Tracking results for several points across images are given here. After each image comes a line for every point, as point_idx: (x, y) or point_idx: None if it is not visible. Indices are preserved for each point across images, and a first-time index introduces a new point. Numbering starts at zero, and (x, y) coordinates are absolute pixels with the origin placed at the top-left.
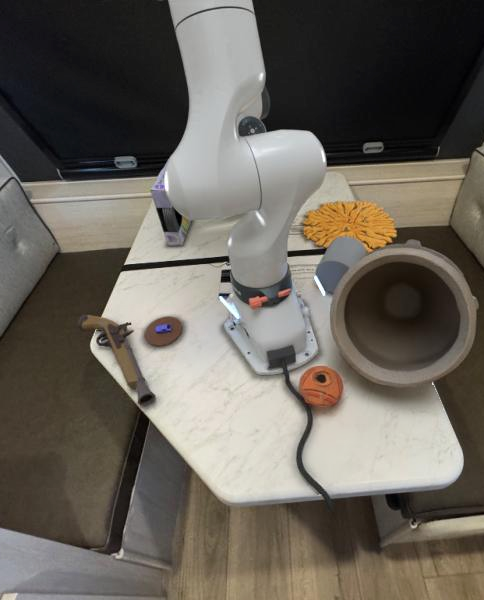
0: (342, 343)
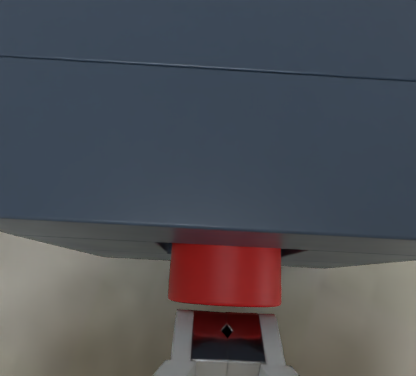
0: None
